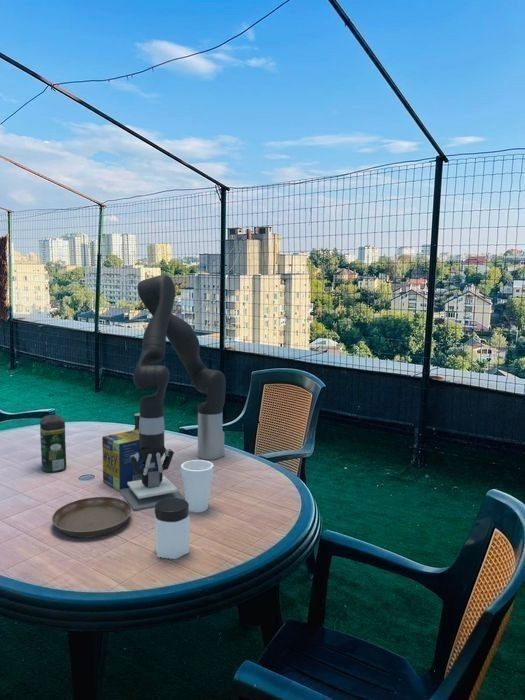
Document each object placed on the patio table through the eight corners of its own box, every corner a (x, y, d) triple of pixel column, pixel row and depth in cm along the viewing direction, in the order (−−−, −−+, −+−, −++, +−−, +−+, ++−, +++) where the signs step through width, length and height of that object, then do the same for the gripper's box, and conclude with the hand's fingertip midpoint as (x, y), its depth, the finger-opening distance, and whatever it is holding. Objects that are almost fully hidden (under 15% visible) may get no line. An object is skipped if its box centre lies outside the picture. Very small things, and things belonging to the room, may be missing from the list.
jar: (175, 538, 136) (175, 494, 135) (196, 549, 131) (196, 503, 130) (146, 551, 130) (146, 505, 128) (168, 563, 124) (168, 515, 123)
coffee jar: (40, 465, 186) (38, 414, 184) (63, 462, 190) (62, 412, 188) (43, 474, 178) (41, 421, 175) (68, 471, 182) (66, 418, 179)
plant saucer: (87, 550, 130) (87, 537, 130) (35, 528, 141) (35, 516, 140) (147, 519, 147) (147, 508, 147) (97, 501, 158) (96, 491, 158)
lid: (164, 478, 170) (164, 460, 170) (177, 491, 160) (177, 473, 159) (127, 484, 164) (127, 466, 164) (138, 498, 154) (138, 479, 153)
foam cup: (186, 517, 149) (187, 473, 147) (176, 504, 157) (176, 462, 155) (217, 511, 153) (218, 468, 151) (206, 499, 161) (206, 458, 160)
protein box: (102, 482, 172) (101, 436, 170) (142, 470, 183) (142, 427, 181) (119, 491, 165) (118, 443, 163) (160, 479, 176) (160, 434, 174)
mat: (168, 482, 173) (168, 480, 173) (186, 500, 160) (186, 498, 160) (119, 491, 166) (119, 489, 165) (134, 511, 152) (134, 509, 152)
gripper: (169, 424, 167) (169, 476, 169) (125, 429, 160) (125, 484, 162) (178, 430, 160) (178, 484, 162) (132, 436, 153) (132, 492, 155)
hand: (151, 484), depth 162 cm, fingers closed on lid, 3 cm apart
